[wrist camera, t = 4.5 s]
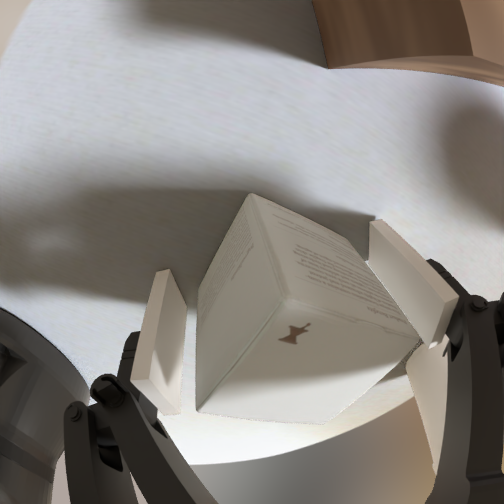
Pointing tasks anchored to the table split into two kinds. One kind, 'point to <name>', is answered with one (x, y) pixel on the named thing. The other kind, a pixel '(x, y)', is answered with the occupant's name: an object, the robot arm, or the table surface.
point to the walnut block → (415, 36)
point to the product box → (291, 321)
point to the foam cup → (430, 392)
